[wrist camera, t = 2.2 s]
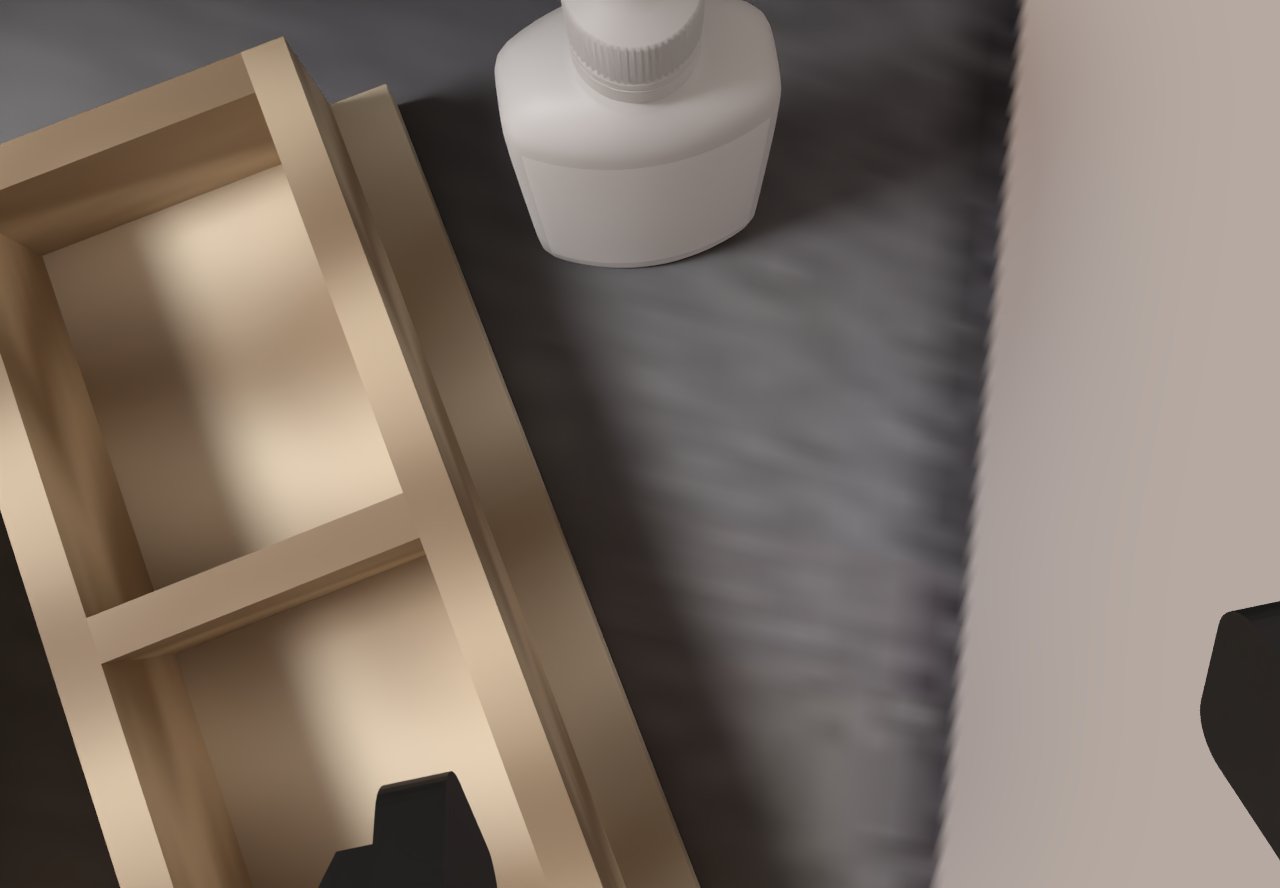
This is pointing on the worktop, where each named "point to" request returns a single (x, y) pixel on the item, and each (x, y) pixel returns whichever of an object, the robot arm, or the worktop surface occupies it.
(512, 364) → the worktop surface
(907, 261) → the worktop surface
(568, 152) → the eye dropper bottle
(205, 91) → the divided storage tray
